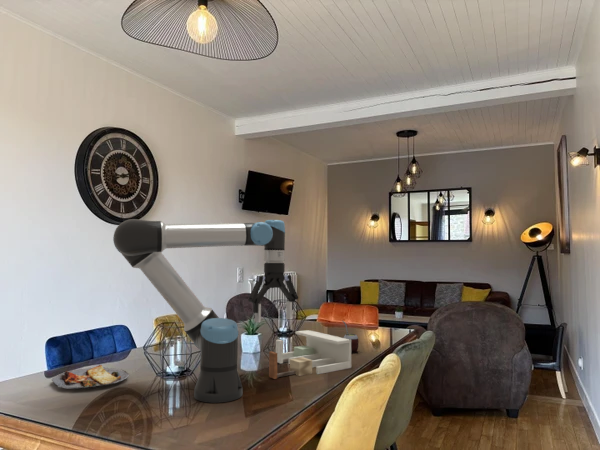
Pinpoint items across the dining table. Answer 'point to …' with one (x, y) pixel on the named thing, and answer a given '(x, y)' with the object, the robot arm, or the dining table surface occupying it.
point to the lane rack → (325, 351)
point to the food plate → (90, 377)
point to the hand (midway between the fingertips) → (273, 320)
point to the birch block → (296, 366)
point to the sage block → (297, 351)
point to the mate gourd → (352, 340)
